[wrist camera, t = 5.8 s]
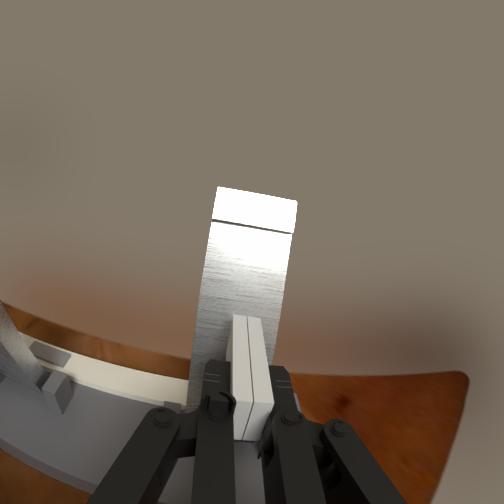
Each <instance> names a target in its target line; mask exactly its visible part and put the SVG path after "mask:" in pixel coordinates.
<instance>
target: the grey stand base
mask: <svg viewBox="0 0 504 504" xmlns="http://www.w3.org/2000/svg"><path fill="white" fill-rule="evenodd" d="M19 334H20V335H21V337H22V338H23V340H24V341H25V343H26V345H27V346H28V348H29V349H30V350H31V352H32V353H33V355H34V356H35V358H36V359H37V361H38V362H39V363H40V365H41V366H42V367H43V369H44V370H45V371H46V373H47V374H48V375H49V378H48V380H47V381H46V383H45V384H44V386H43V387H42V392H43V394H44V395H43V394H41V393H39V392H37V391H35V390H32V389H30V388H28V387H26V386H24V385H22V384H20V383H18V382H16V381H14V380H12V379H10V378H9V377H7V376H5V375H3V374H2V373H0V449H2V450H3V451H5V452H6V453H8V454H10V455H11V456H13V457H14V458H16V459H18V460H20V461H21V462H23V463H25V464H27V465H28V466H30V467H32V468H34V469H36V470H38V471H40V472H41V473H43V474H45V475H47V476H50V477H52V478H54V479H56V480H58V481H60V482H62V483H65V484H67V485H69V486H72V487H74V488H77V489H79V490H82V491H84V492H87V493H90V494H93V493H94V491H95V490H96V488H97V487H98V485H99V484H100V482H101V481H102V479H103V478H104V476H105V475H106V473H107V472H108V470H109V469H110V467H111V466H112V464H113V463H114V461H115V460H116V458H117V457H118V455H119V454H120V452H121V451H122V449H123V448H124V446H125V445H126V443H127V442H128V440H129V439H130V437H131V436H132V434H133V433H134V431H135V430H136V428H137V427H138V426H139V424H140V423H141V421H142V420H143V418H144V417H145V415H146V414H147V412H149V411H150V410H151V409H153V408H156V407H165V408H170V409H171V410H173V411H175V412H176V413H177V414H184V413H185V411H186V401H187V391H188V382H189V380H183V379H177V378H172V377H166V376H161V375H156V374H152V373H147V372H143V371H138V370H134V369H130V368H126V367H122V366H118V365H114V364H110V363H107V362H103V361H100V360H96V359H93V358H89V357H86V356H83V355H80V354H77V353H74V352H71V351H68V350H65V349H62V348H59V347H56V346H53V345H51V344H48V343H45V342H43V341H40V340H38V339H35V338H32V337H30V336H28V335H25V334H23V333H20V332H19ZM294 397H295V401H296V405H297V409H298V411H300V412H301V410H300V406H299V402H298V399H297V395H296V393H294ZM262 444H263V439H262V436H261V439H260V441H254V442H253V443H244V442H234V460H235V490H236V504H265V494H264V483H263V472H262V461H261V457H260V459H257V456H258V453H259V451H260V449H261V446H262ZM194 460H195V456H192V457H184V458H179V459H178V461H177V463H176V465H175V467H174V469H173V471H172V473H171V475H170V477H169V479H168V482H167V484H166V486H165V488H164V490H163V492H162V494H161V496H160V498H159V500H158V502H157V504H191V499H192V485H193V472H194Z"/></svg>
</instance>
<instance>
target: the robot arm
mask: <svg viewBox="0 0 504 504" xmlns="http://www.w3.org/2000/svg"><path fill="white" fill-rule="evenodd" d="M290 381H291V380H290V376H289V373H288V372H287V371H286V369H285V368H284V367H283V366H273V365H268V362H267V356H266V349H265V343H264V337H263V331H262V324H261V318H256V317H249V316H247V317H246V316H241V315H234V314H233V318H232V323H231V329H230V334H229V340H228V345H227V351H226V361H221V360H214V359H210V360H209V361H208V362H207V363H206V364H205V369H204V377H203V385H202V393H201V402H200V405H199V406H198V408H197V409H195V410H194V411H192V412H189V413H184V414H177V413H176V412H175V411H173V410H171V409H170V408H165V407H156V408H153V409H151V410H150V411H149V412H147V414H146V415H145V417H144V418H143V420H142V421H141V423H140V424H139V426H138V427H137V428H136V430H135V431H134V433H133V434H132V436H131V437H130V439H129V440H128V442H127V443H126V445H125V446H124V448H123V449H122V451H121V452H120V454H119V455H118V457H117V458H116V460H115V461H114V463H113V464H112V466H111V467H110V469H109V470H108V472H107V473H106V475H105V476H104V478H103V479H102V481H101V482H100V484H99V485H98V487H97V488H96V490H95V491H94V493H93V494H92V496H91V497H90V499H89V500H88V502H87V503H86V504H157V502H158V500H159V498H160V496H161V494H162V492H163V490H164V488H165V486H166V484H167V482H168V479H169V477H170V475H171V473H172V471H173V469H174V467H175V465H176V463H177V461H178V459H179V458H184V457H192V456H195V460H194V472H193V485H192V499H191V504H236V490H235V460H234V439H235V440H241V439H242V440H249V441H260V439H261V436H262V439H263V444H262V446H261V449H260V451H259V453H258V456H257V459H260V457H261V461H262V472H263V483H264V494H265V504H408V503H407V502H406V501H405V499H404V498H403V497H402V495H401V494H400V493H399V491H398V490H397V489H396V487H395V486H394V485H393V483H392V482H391V481H390V479H389V478H388V477H387V475H386V474H385V472H384V471H383V470H382V468H381V467H380V466H379V464H378V463H377V461H376V460H375V459H374V457H373V456H372V455H371V453H370V452H369V450H368V449H367V448H366V446H365V445H364V443H363V442H362V441H361V439H360V438H359V437H358V435H357V434H356V432H355V431H354V430H353V428H352V427H351V426H350V425H349V424H348V423H347V422H345V421H343V420H340V419H331V420H329V421H327V422H326V423H325V425H324V424H319V423H315V422H312V421H309V420H307V419H305V417H304V415H303V414H302V413H301V412H300V411H298V409H297V405H296V401H295V397H294V393H293V389H292V385H291V382H290Z"/></svg>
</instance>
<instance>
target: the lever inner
mask: <svg viewBox="0 0 504 504" xmlns="http://www.w3.org/2000/svg"><path fill="white" fill-rule="evenodd" d="M0 373H2V374H3V375H5V376H7V377H9V378H10V379H12V380H14V381H16V382H18V383H20V384H22V385H24V386H26V387H28V388H30V389H32V390H35V391H37V392H39V393H41V394H43V392H42V387H43V386H44V384H45V383H46V381H47V380H48V378H49V375H48V374H47V373H46V371H45V370H44V369H43V367H42V366H41V365H40V363H39V362H38V361H37V359H36V358H35V356H34V355H33V353H32V352H31V350H30V349H29V348H28V346H27V345H26V343H25V341H24V340H23V338H22V337H21V335H20V334H19V332H18V330H17V329H16V327H15V325H14V324H13V322H12V320H11V319H10V317H9V315H8V313H7V312H6V310H5V308H4V306H3V304H2V302H1V300H0ZM43 395H44V394H43Z"/></svg>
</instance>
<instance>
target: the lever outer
mask: <svg viewBox="0 0 504 504" xmlns="http://www.w3.org/2000/svg"><path fill="white" fill-rule="evenodd" d="M296 207H297V202H296V201H291V200H286V199H281V198H276V197H271V196H266V195H261V194H255V193H250V192H244V191H239V190H233V189H227V188H221V187H218V190H217V195H216V201H215V205H214V211H213V217H212V223H211V229H210V235H209V240H208V247H207V253H206V259H205V265H204V271H203V277H202V284H201V290H200V297H199V303H198V311H197V318H196V325H195V332H194V340H193V348H192V356H191V364H190V373H189V382H188V391H187V401H186V411H185V413H189V412H192V411H194V410H195V409H197V408H198V406H199V405H200V402H201V393H202V385H203V377H204V369H205V364H206V363H207V362H208V361H209V360H210V359H214V360H221V361H226V351H227V345H228V340H229V334H230V329H231V323H232V318H233V314H234V315H241V316H246V317H247V316H249V317H256V318H261V324H262V331H263V337H264V343H265V349H266V356H267V362H268V365H272V361H273V355H274V349H275V343H276V337H277V331H278V325H279V319H280V312H281V306H282V299H283V293H284V285H285V279H286V272H287V264H288V258H289V250H290V243H291V235H292V233H293V232H294V224H295V215H296ZM234 442H244V443H253V442H254V441H249V440H242V439H241V440H235V439H234Z"/></svg>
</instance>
